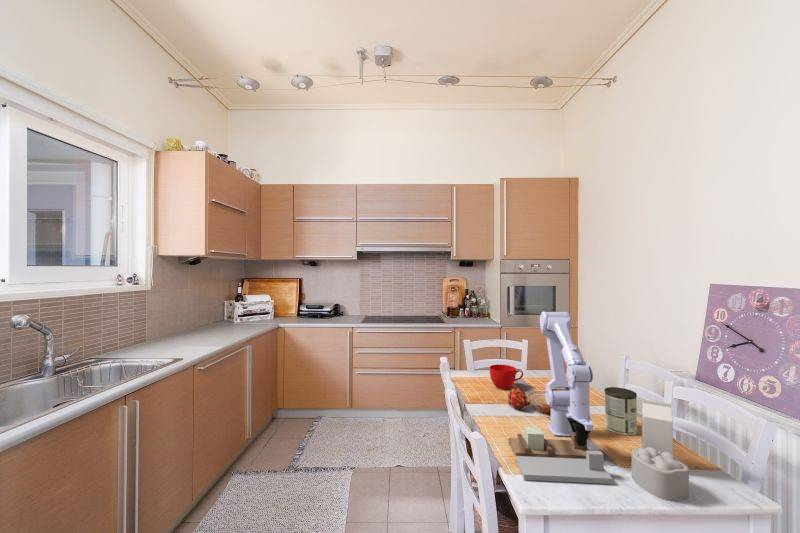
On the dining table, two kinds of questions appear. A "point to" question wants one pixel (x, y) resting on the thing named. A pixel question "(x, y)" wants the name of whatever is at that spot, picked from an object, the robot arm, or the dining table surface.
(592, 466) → the slate strip
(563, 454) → the walnut strip
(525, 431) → the cube
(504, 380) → the ceramic cup
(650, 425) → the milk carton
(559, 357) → the robot arm
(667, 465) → the lumpy-topped squat cylinder
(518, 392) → the dragon fruit
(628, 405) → the coffee can
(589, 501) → the dining table surface
